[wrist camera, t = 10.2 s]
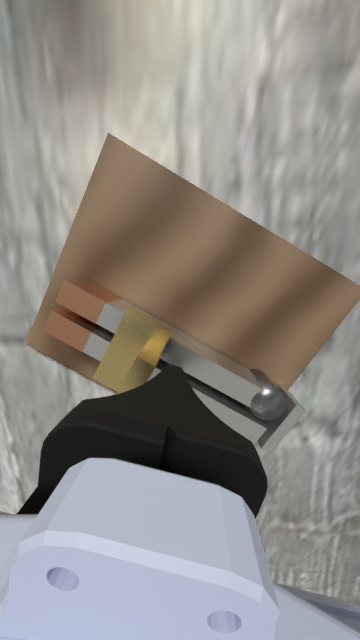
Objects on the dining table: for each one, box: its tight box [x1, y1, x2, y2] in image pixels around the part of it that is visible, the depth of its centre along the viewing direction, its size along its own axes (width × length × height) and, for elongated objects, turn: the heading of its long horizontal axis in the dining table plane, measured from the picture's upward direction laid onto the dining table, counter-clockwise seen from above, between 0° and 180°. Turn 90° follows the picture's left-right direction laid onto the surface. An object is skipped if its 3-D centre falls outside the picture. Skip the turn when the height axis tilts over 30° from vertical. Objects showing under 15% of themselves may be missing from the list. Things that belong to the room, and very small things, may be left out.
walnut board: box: [26, 133, 360, 393], centre depth 15 cm, size 22×18×1 cm
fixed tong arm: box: [43, 308, 306, 453], centre depth 14 cm, size 18×4×3 cm, turn 61°
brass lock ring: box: [93, 307, 173, 394], centre depth 12 cm, size 3×6×6 cm, turn 151°
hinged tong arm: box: [55, 279, 286, 420], centre depth 14 cm, size 17×2×3 cm, turn 61°
